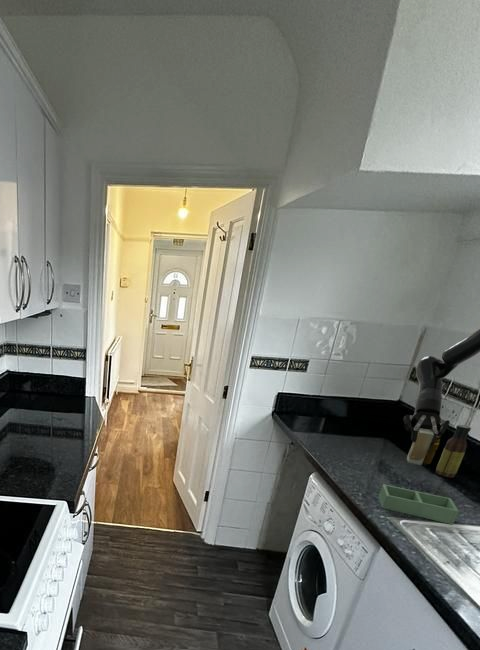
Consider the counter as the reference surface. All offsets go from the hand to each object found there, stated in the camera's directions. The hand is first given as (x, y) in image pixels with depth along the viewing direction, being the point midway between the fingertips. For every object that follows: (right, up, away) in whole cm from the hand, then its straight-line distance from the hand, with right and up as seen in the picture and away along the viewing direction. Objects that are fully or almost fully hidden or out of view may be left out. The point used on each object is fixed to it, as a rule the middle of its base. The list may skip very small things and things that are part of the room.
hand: (423, 442), depth 150 cm
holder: (-17, -22, -18) cm, 33 cm away
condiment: (+16, -7, +22) cm, 28 cm away
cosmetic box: (0, -7, +5) cm, 9 cm away
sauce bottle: (+16, -12, +10) cm, 23 cm away
